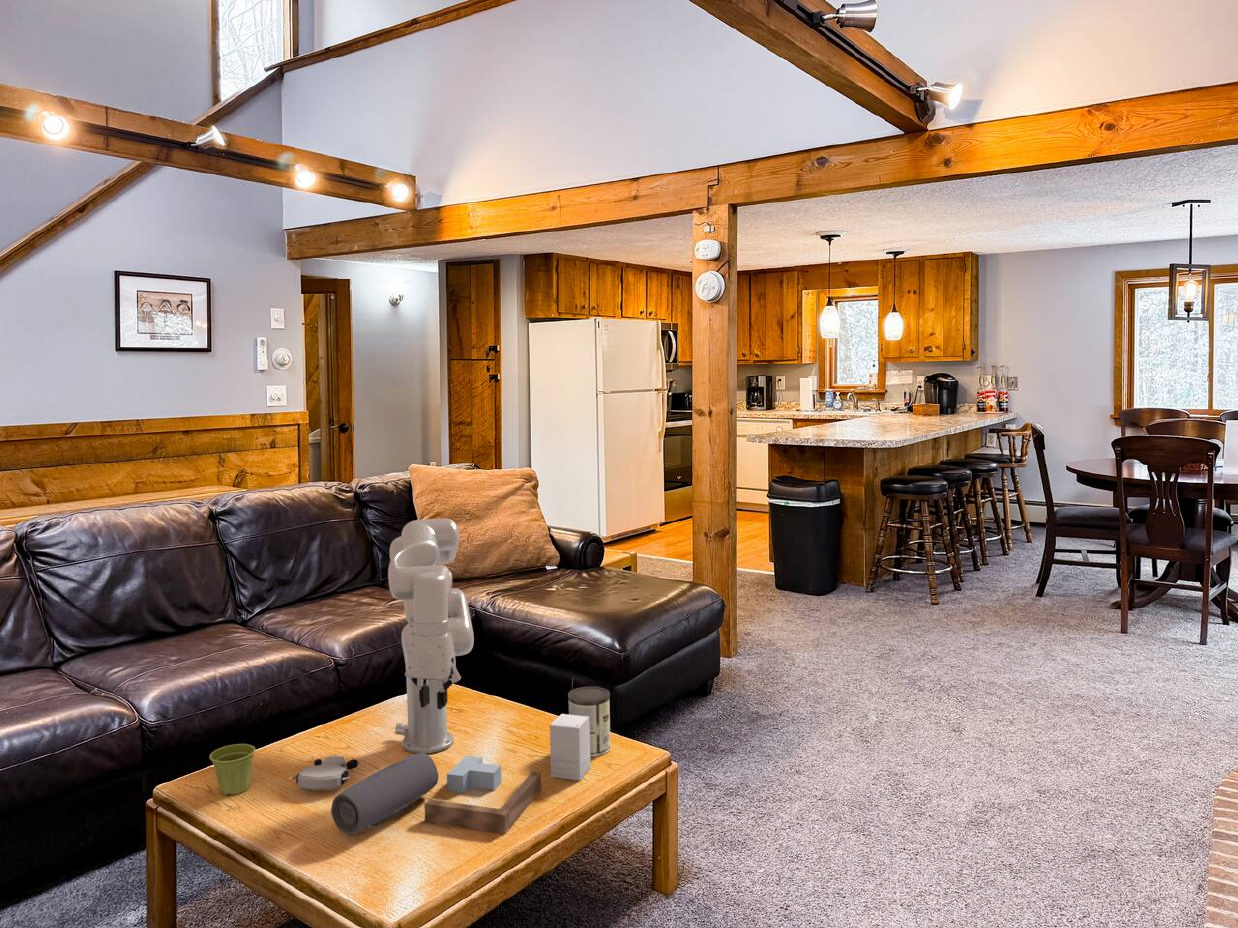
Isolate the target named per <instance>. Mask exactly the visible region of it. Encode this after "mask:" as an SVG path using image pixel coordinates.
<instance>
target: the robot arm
mask: <svg viewBox="0 0 1238 928" xmlns="http://www.w3.org/2000/svg"><path fill="white" fill-rule="evenodd" d="M459 544H460V531H459V528H458V525H457V524H456V522H455V521H454V520H453V519H450V518H428V519H427V518H425V519H416V520H412V521H410V522H408V523H406V525H404V527H403V528H402V531H401V536H399V537H398V536H397V537H396V538H395V539H393V540H392V542H391V543H390V546H389V559H390V560H389V564H388V568H387V570H388V571H387V579H388V585H389V592H390V594H391V596H392V597H393V598H394V599H395V600H398V601H403V607H404V614H405V615H404V616H405V619H406V622H407V624H406V625H405V626H404V627H403V628H402V631H401V645H402V651H403V656H404V663H405V673H404V676H405V677H406V695H407V696H406V697H407V698H406V702H407V706H406V707H407V724H405V723H402V722H401V723H396V725H395V731H394V732H395V735H398V736H399V735H400V736H403V737H404V738H403V739H402V742H401V745H402V748H403V749H404V751H407V752H409V753H412V754H418V753H425V754H433V753H438V752H440V751H444V750H446V749H448V748H450V747H451V746H452V745H453V744H454V735H453V734H452V733H451V732H449V731H448V719H447V718H448V715H447V713H448V712H447V710H448V709H447V704H448V689H450V687H451V686H452V685H454V684H456V683H457V682H458V681H460V680H461V679H462V676H461V675H460V673H459V671H458V669H457V666H456V664H457V663H456V657H458V656H459V657H460V656H464V655H467V654H469V653H470V652H471V651H472V649H474V648H473V647H474V642H475V641H474V640H475V637H474V630H473V629H474V628H473V625H472V618H471V613H470V609H469V603H468V600H467V596H466V594H465V593H464V592H463V590H461V589H459V588H452V587H453V575H452V571H450V569H449V568H448V567H447V566H446V564H450V563H452V562H454V561H455V558H456V556H457V552H458V549H459ZM450 676H451V678H450Z"/></svg>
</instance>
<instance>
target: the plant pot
mask: <svg viewBox="0 0 1238 928" xmlns="http://www.w3.org/2000/svg"><path fill="white" fill-rule="evenodd" d="M255 752H256V747H255V746H253V745H251V744H247V743H237V744H236V743H235V744H230V745H229V744H228V745H225V746H223V747H220V748H217V749H214V751H212V752H211V753H210V754H209V761H211V763H212V764H213V766H214V770H215V775H216V779H217V783H218V787H219V792H220V794H221V795H224V796H226V795H233V796H234V795H238V794H242V793H244V792H245V791H247V790H248V789H249V788H250V785H251V784H250V783H251V774H252V773H251V772H252V762H253V759H254V754H255Z"/></svg>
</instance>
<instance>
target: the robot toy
mask: <svg viewBox="0 0 1238 928" xmlns="http://www.w3.org/2000/svg"><path fill="white" fill-rule="evenodd" d="M361 764H362V760H361V759H355V758H353V759H351V760H348V761H346V759H345V757H344V756H337V755H332V756H331V755H330V756H326V757H325V758H324V759H322V758H317V759H314V761H313V765H310V766H307V767H305V768H303V769H302V770H301V771H299V772H298V773H297V774H296V775H295V776H291V777H289V780H293V779H295V783H296V784H297V786H298V787H300V788H301V789H304V790H307V791H321V790H322V791H323V790H327V791H336V790H338V789H339V788H341V786H343V785H344V784H345V783H346V782H347V781H348V780H350V779H351V775H350V772H349V770H355V769H357V768H358V766H359V765H361Z"/></svg>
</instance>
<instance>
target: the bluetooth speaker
mask: <svg viewBox="0 0 1238 928" xmlns="http://www.w3.org/2000/svg"><path fill="white" fill-rule="evenodd" d="M438 781H439V772H438V768H437V766H436V764H435V762H434V760H433V758H432V757H431V756H430V755H429V754H428V753H414V754H412V755H409V756H407V757H405V758H403V759H401V760H398V761H396V762H394V763H392V764H390V765H388V766H386V767H384V768H382V769H380V770H378V771H376V772H374V773H372V774H370V775H369V776H366V777H365V778H362V779H361V780H359V781H357V782H356V783H354V784H352V785H351V786H349V787H347V788H345V789H344V790H342V791H341V792H340V793H338V794H336V796H334V798H333V800H332V803H331V809H330V813H331V817H332V820H333V822H334V824H335V826H336V827H337V828H338V829H339V830H340V831H341V832H343V833H344V834H347V835H354V834H357V833H359V832H362V831H363V830H366V829H368V828H370V827H371V828H375V827H378V826H380V825H382V824H384V823H386V822H388V821H390V820H392V819H393V818H395V817H397V816H398V815H400V814H402V813H403V812H405V811H406V810H407V809H408V808H409V806H410V805H411V804H412V803H414V802H416V801H418V800H419V799H420V798H422V797H423V796H424V795H426V794H428V793H429V792H430V791H431V790H433V789H434V788H435V787H436V786H437V784H438Z"/></svg>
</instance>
